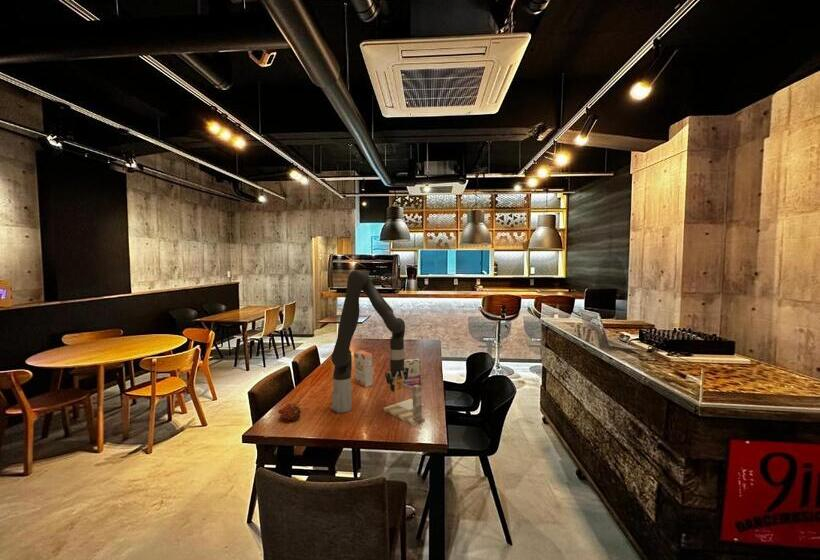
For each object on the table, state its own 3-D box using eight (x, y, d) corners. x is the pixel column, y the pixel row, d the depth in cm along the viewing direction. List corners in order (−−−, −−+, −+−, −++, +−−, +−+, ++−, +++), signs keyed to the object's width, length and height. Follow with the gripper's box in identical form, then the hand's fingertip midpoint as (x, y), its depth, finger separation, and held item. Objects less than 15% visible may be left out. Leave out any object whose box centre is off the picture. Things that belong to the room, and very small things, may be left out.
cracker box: (354, 382, 226) (353, 350, 226) (362, 380, 230) (361, 349, 229) (364, 388, 215) (364, 355, 214) (373, 386, 219) (372, 353, 218)
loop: (394, 393, 174) (394, 380, 174) (391, 391, 176) (391, 379, 176) (403, 390, 178) (403, 378, 178) (400, 389, 180) (400, 377, 180)
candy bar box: (419, 382, 224) (418, 357, 223) (420, 385, 219) (420, 360, 218) (402, 384, 222) (401, 359, 221) (403, 386, 217) (403, 361, 216)
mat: (408, 411, 180) (408, 410, 180) (395, 404, 188) (395, 403, 188) (423, 405, 187) (423, 404, 187) (410, 399, 195) (410, 398, 195)
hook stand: (424, 421, 168) (424, 385, 167) (413, 426, 163) (413, 388, 162) (394, 406, 186) (393, 373, 185) (384, 410, 181) (383, 376, 181)
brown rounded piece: (301, 424, 169) (280, 425, 172) (307, 409, 176) (286, 410, 179) (293, 415, 165) (271, 416, 167) (299, 399, 171) (278, 401, 174)
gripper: (403, 353, 184) (403, 384, 185) (381, 358, 175) (381, 391, 176) (412, 356, 178) (412, 388, 179) (390, 361, 169) (390, 395, 170)
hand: (397, 389), depth 177 cm, fingers closed on loop, 5 cm apart
